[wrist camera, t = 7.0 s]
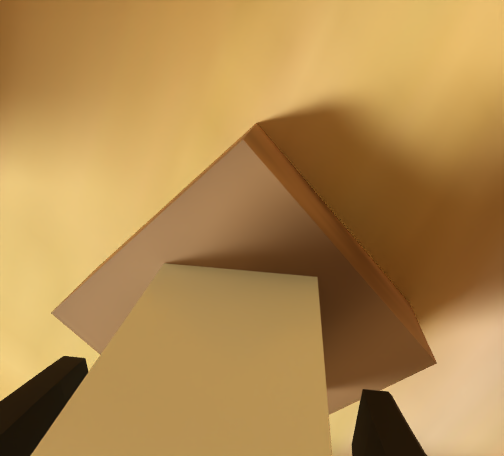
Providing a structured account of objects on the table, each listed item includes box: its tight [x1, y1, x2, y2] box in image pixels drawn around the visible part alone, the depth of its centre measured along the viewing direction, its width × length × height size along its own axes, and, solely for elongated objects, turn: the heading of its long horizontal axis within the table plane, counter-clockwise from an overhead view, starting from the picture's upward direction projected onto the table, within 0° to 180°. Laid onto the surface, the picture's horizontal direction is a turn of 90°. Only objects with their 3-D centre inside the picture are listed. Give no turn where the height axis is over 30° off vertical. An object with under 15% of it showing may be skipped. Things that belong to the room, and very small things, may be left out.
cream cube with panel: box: [31, 263, 332, 456], centre depth 9 cm, size 5×5×7 cm
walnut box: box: [51, 123, 437, 414], centre depth 13 cm, size 9×9×4 cm
